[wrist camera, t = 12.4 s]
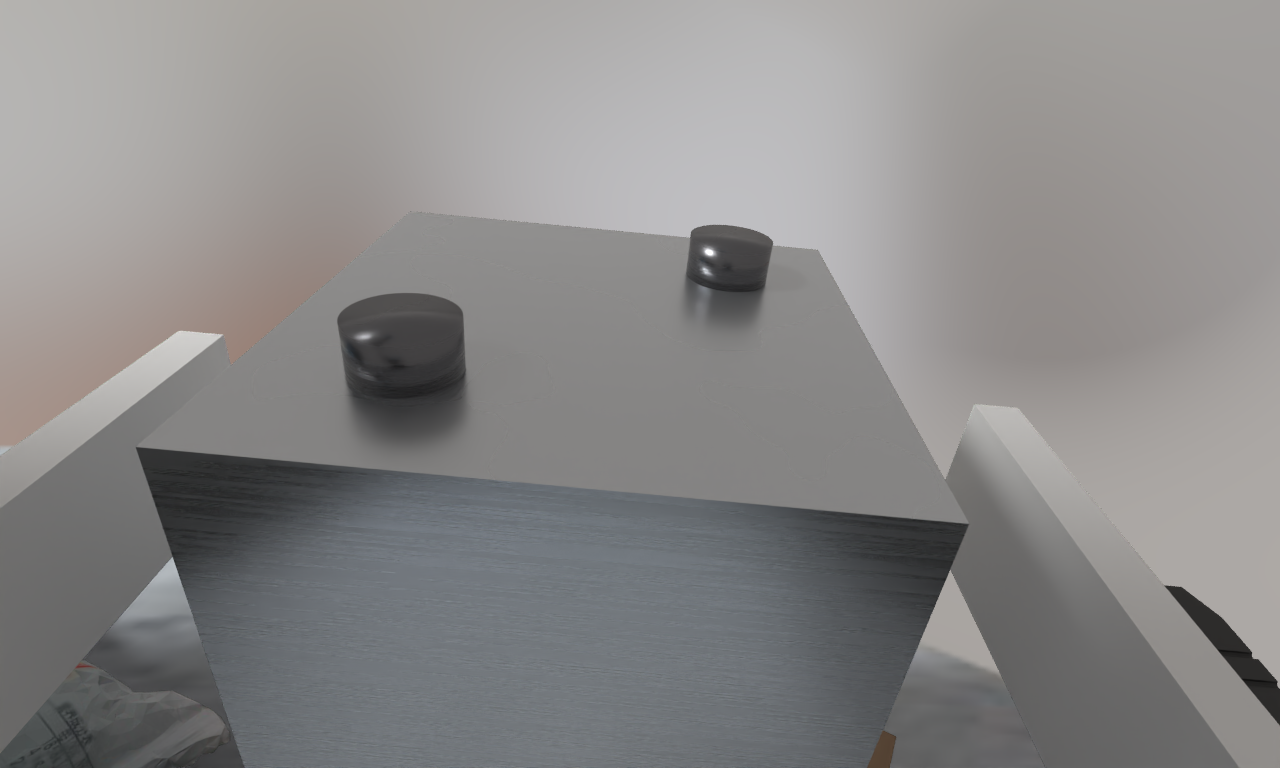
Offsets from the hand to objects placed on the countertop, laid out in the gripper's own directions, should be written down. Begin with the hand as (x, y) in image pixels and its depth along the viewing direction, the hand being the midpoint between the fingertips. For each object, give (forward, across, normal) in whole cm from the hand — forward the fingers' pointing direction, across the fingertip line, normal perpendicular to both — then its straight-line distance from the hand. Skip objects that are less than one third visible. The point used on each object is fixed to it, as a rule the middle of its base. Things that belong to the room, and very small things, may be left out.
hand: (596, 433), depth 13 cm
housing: (-2, 0, -9) cm, 9 cm away
